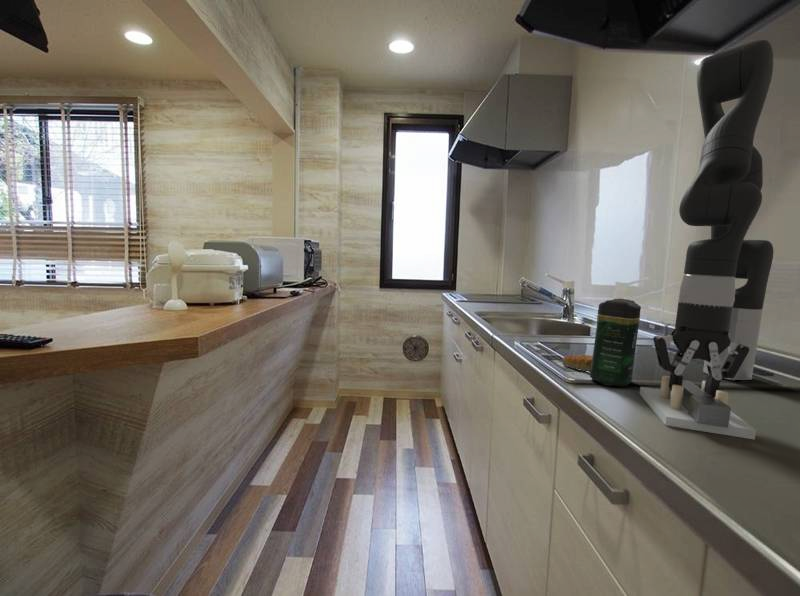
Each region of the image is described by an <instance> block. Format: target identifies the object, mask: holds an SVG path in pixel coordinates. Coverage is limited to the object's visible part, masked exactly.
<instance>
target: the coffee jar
mask: <svg viewBox="0 0 800 596" xmlns="http://www.w3.org/2000/svg"><path fill="white" fill-rule="evenodd" d="M641 308H642V307H641V305H640V304H638V303H636V302H635V301H634V300H630V299H626V298H613V299H610V300H609V299H608V300H607V299H606V301H603V302H600V303H599V304H598V309H597V316H596V325H595V326H596V329H595V337H594V343H593V350H592V351H593V353H592V356H593V358H592V365H591V373H589V377H590V379H591V378H592V379H594V380H593V381H595V380H597V381H596V382H598V381H599V382H598V383H600V382H601V383H603V384H602V385H604V386H611V387H612V386H616V387H617V386H618V387H623V388H624V387H626V386H628V385H629V384H630V383H631V382H632V380H633V372H634V363H635V357H636V350H637V343H638V335H639V327H640V319H641ZM592 379H591V380H592ZM601 383H600V384H601Z"/></svg>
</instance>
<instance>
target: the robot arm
mask: <svg viewBox="0 0 800 596" xmlns="http://www.w3.org/2000/svg"><path fill="white" fill-rule="evenodd" d="M773 71H774V52H773V47H772V44H771V43H770V42H769V41H768V40H766V39H761V40H760V39H759V40H755V41H750V42H748V43H744V44H742V45H738V46H736V47H732V48H729V49H726V50H723V51H721V52H717V53H714V54H711V55H709V56H706V57H704V58H703V59H702V60H701V61H700V62H699V65H698V67H697V72H696V87H697V96H698V102H699V109H700V115H701V122H702V128H703V134H704V141H703V145H702V149H701V154H700V160H699V167H698V169H697V172H696V174H695V177H694V178H693V180H692V182H691V183H690V184H689V186H688V188H687V189H686V191H685V192H684V194H683V196H682V199H681V201H680V204H679V210H678V211H679V212H678V213H679V217H680V219H681V220H682V221H683V223H685V224H686V225H687V226H691V227H710V238H709V239H708V238H707V239H701V240H697V241H693V242H690V244H689V245H688V247H687V250H686V255H685V263H684V270H683V277H682V279H681V283H680V287H679V294H678V295H679V296H678V304H677V311H676V317H675V323H674V324H675V325H674V328H673V329H674V330H673V331H672V332H671V334H669V335H662V336H660V335H655V336H653V344H654V347H655V348H654V349H655V353H656V357H657V358H656V359H657V361H658V365H659V367H661V368H662V369H663V370H664V371H666V372H669V374H670V375H669V376H670V382H669V389H670V390H671V391H672V386H673V385H681V386H682V382H683V380H684V376H683V375H682V374H683V372H684V371H685V369H686V367H687V366H688V365H689V363H690V362H691V360H696V359H697V360H699V359H700V360H703V363H704V364H703V368H702V371H703V373H705V374H707V375H708V376H705V380H704V381H705V388H704V391H705V392H706V393H708V394H709V395H710V396H712V397H713V398H714V399H715V397H716V391H717V390H720V383H721V381H722V380H723V379H724V380H729V381H735V380H751V381H752V378H753V372H754V366H755V363H756V362H755V360H756V354H757V347H758V341H759V335H760V329H761V321H762V316H763V308H764V305H765V304H764V302H765V298H766V292H767V285H768V281H769V277H770V273H771V270H772V269H771V268H772V265H773V259H774V246H773V243H772V242H771V241H769V240H768V239H767V240H765V239H745V237H746V235H747V233H748V231H749V229H750V226H751V225H752V223H753V222H754V219H755V218H756V216H757V213H758V212H759V210H760V208H761V206H762V205H761V204H762V201H763V194H762V188H763V185H764V183H763V174H764V173H763V171H764V170H763V158H762V155H761V152H760V151H759V150H758V149H757V148H756V147H755V146H754V141H755V140H754V139H755V133H756V130H757V126H758V124H759V120H760V117H761V115H762V112H763V109H764V106H765V102H766V99H767V95H768V93H769V89H770V85H771V82H772V77H773V74H774V73H773ZM733 100H734V101H735V100H737V101H736V103H734V105H733V106H732V107H731V108H730V109H729V110H728V111H727V112H726V113H725V112H724V109H723V106H722V103H725V102H730V101H733ZM736 279H740V280H741V279H742V280H746V283H745V284H744V285H742V286H741V287H738V288H736ZM672 342H673V343H674V345H675V347H676V348H677V350H676V352H675V354H674V358H673V360H672V362H671V360H670V355H669V352H668V349H669V348H670V347H671V343H672Z"/></svg>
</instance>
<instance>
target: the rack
mask: <svg viewBox="0 0 800 596" xmlns="http://www.w3.org/2000/svg"><path fill="white" fill-rule="evenodd" d="M705 381H706V380H702V381H701V382H702V383H701V389H702V390H704V388H705ZM660 382H661V383H660V389H659V388H652V387H647V386H646V387H643V386H640V387H639V395H640V397H641V398H642V399H643V400H644V401H645V402H646V404H647V405H648V406H649V408H650V409H651V410H652V411H653V412H654V413H655V415H656V417H658V418H659V420H660V421H661V422H662V423H663V424H664V426H668V427H673V428H679V429H685V430H686V429H687V430H693V431H698V432H705V433H706V432H707V433H712V434H715V435H716V434H718V435H723V436H729V437H734V438H735V437H737V438H742V439H749V440H756V434H757V429H755V428H754V427H752V426H751V425H749V424H748V423H747V422H746V421H745V420H743V419H742V418H741V417H739V415H736V414H735V413H734V412H733V411H731V412H730V418H729V425H728V428H726V427H719V426H713V425H706V424H700V423H697V422H696V421H695V420H694V419H693V418H692V417H691V416H690V415H689V414H688V410H687V409H686V408H685V407H684V406H683V405H682V397H683V390H684V387H683V386H681V385H673V386H672V391H671V390H670V389H669V382H670V375H662V377H661V381H660ZM714 399H719V400H721V401H722V402H723V403H725V404H726V405H727V406H728V401H729V392H728V391H725V390H722V389H721V390H720V389H719V390H717V391H716V397H714Z"/></svg>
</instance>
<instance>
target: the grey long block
mask: <svg viewBox="0 0 800 596" xmlns="http://www.w3.org/2000/svg"><path fill="white" fill-rule="evenodd" d="M682 386H683V387H684V390H683V397H682V405H683V406H684V407H685V408H686V409H687V410H688V414H689V415H690V416H691V417H692V418H693V419H694V420H695V421H696V422H697V423H700V424H706V425H713V426H719V427H726V428H728V425H729V418H730V412H732V408H731V407H730V406H729V405H728V404H727V405H726V404H725V403H723V402H722V401H721V400H719V399H715V397H714V398H713V397H712V396H710V395H709V394H708V393H706V392H705V391H704V390H702V387H699V386H698V385H697V384H695V383H694V382H693V381H691V380H687V379H686V380H684V379H683V382H682Z"/></svg>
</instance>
